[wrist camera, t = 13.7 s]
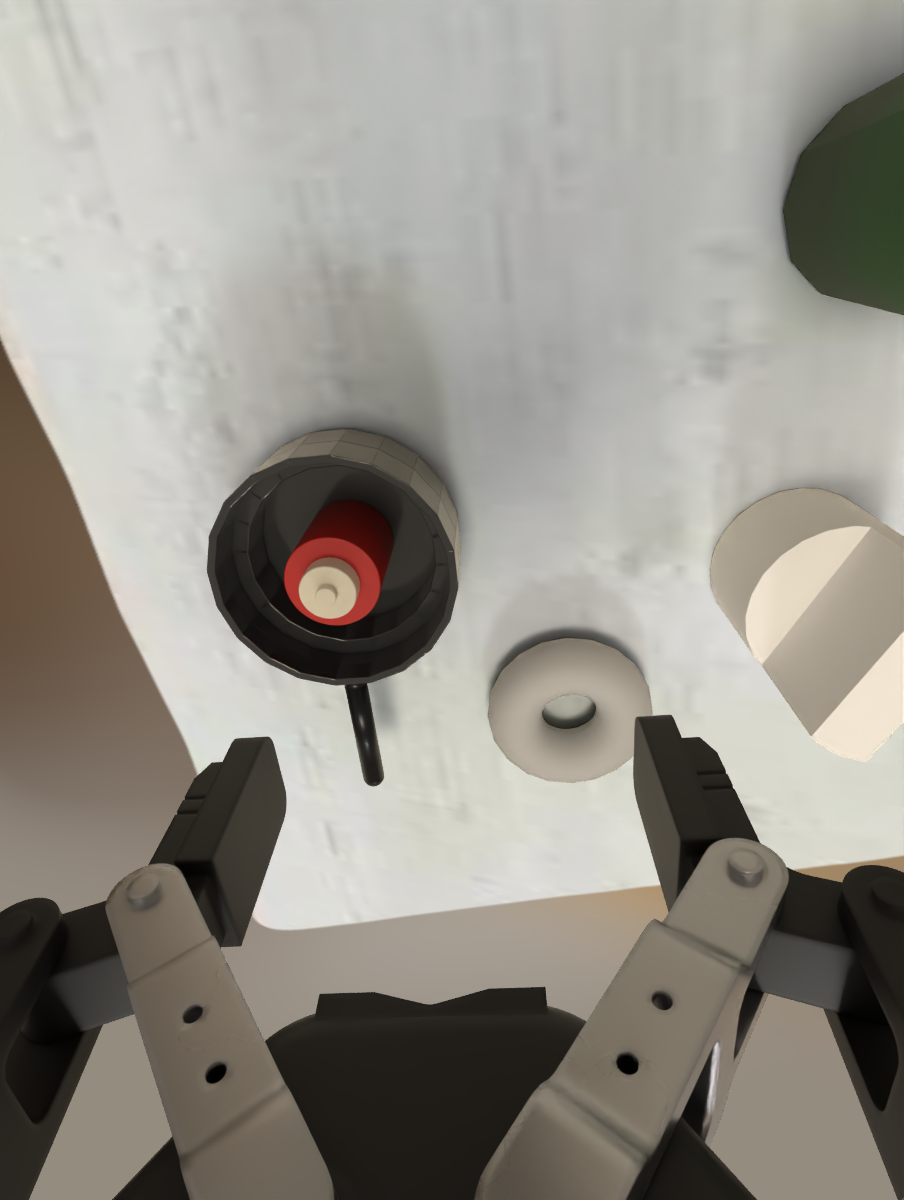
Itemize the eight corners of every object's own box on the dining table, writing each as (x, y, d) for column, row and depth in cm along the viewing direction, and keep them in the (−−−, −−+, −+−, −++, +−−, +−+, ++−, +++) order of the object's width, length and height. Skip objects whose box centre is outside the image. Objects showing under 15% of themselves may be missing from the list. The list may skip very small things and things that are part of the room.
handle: (344, 668, 39) (340, 680, 38) (366, 667, 38) (363, 679, 37) (366, 777, 42) (363, 791, 41) (386, 776, 42) (384, 790, 41)
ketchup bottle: (301, 503, 39) (264, 555, 32) (386, 496, 39) (367, 546, 32) (317, 582, 41) (286, 646, 34) (398, 575, 41) (383, 638, 34)
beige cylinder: (773, 460, 38) (892, 542, 27) (907, 530, 39) (1071, 634, 28) (679, 596, 41) (750, 716, 30) (805, 655, 43) (915, 789, 32)
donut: (584, 780, 48) (679, 676, 44) (590, 817, 45) (694, 709, 40) (458, 715, 46) (545, 599, 42) (456, 749, 43) (550, 627, 38)
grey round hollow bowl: (220, 439, 38) (177, 469, 33) (447, 416, 37) (442, 443, 32) (269, 638, 43) (240, 692, 38) (469, 623, 43) (468, 676, 37)
